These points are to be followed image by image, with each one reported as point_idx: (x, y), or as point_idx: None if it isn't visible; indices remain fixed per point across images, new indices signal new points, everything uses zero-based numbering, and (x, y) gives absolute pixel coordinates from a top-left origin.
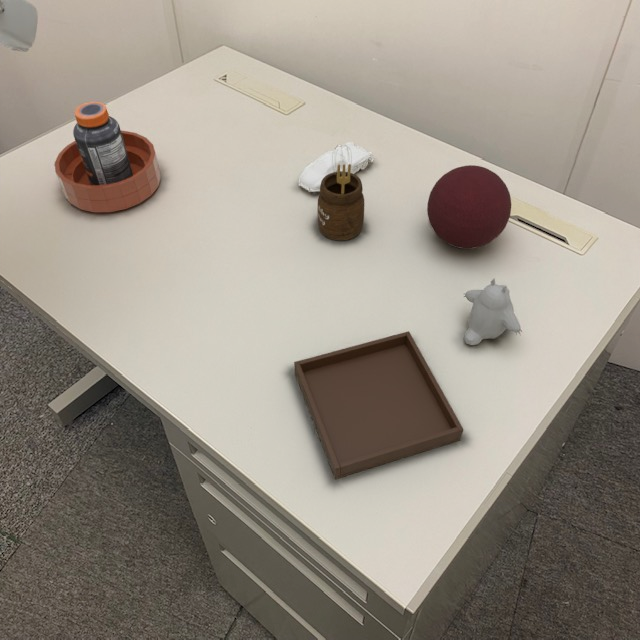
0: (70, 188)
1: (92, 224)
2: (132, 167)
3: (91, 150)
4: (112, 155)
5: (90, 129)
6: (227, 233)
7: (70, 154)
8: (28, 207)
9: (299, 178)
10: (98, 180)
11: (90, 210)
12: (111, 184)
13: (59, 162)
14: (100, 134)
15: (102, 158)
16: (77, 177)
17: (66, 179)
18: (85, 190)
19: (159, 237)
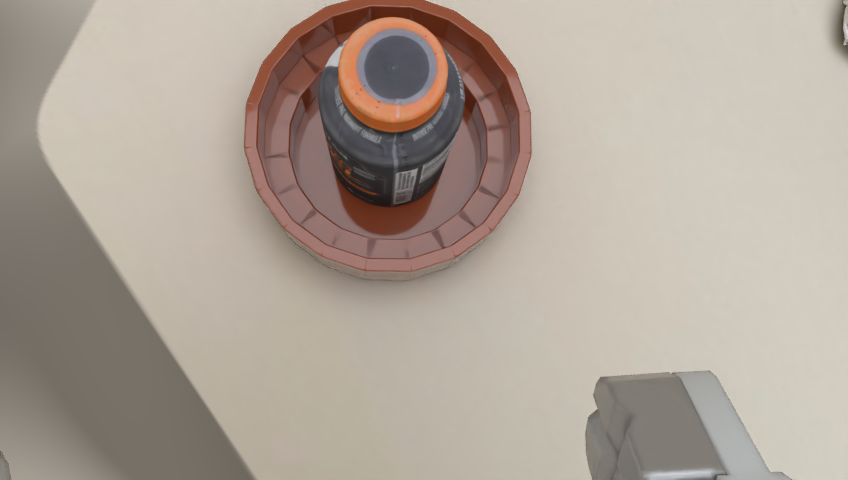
0: (351, 268)
1: (416, 315)
2: None
3: (405, 173)
4: (448, 151)
5: (408, 131)
6: (750, 250)
7: (261, 122)
8: (213, 302)
9: (845, 26)
10: (393, 199)
11: (396, 279)
12: (472, 237)
13: (267, 182)
14: (438, 132)
15: (427, 172)
16: (295, 171)
17: (335, 252)
18: (405, 272)
19: (603, 311)
